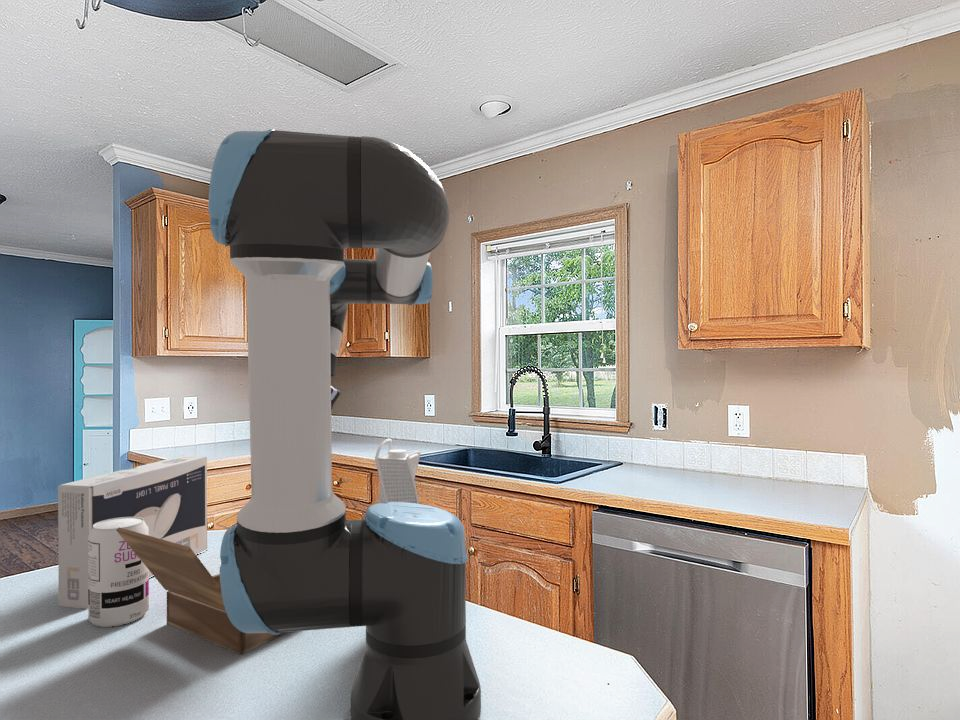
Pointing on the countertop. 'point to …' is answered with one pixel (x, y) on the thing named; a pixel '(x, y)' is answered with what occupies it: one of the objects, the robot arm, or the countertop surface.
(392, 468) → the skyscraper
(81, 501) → the packaging
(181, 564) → the lid
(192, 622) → the box
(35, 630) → the countertop surface
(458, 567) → the robot arm
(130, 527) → the supplement can
